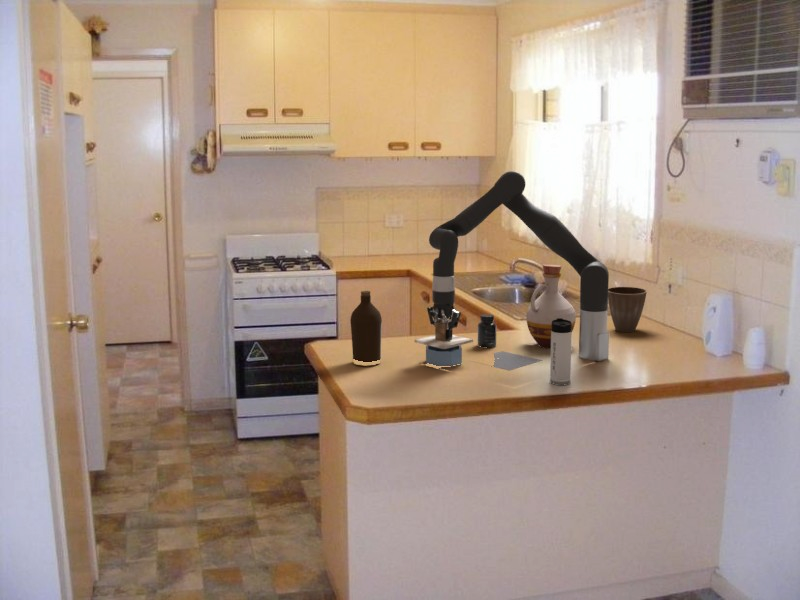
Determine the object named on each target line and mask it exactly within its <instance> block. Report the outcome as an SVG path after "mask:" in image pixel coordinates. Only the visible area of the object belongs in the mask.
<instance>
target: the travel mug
mask: <svg viewBox="0 0 800 600" xmlns="http://www.w3.org/2000/svg"><path fill="white" fill-rule="evenodd" d="M551 327H552V329H551V332H552V333H551V348H550V362H549V363H550V365H549V366H550V370H549V371H550V374H549V383H551V384H552V383H554V384H553V385H555V384H560V385H559V386H565V385H564V384H567V385H569V384H571V370H572V368H571V365H572V335H573V334H572V333H573V331H571V330H572V329H571V328H572V323H571V321H569V320H564V319H562V318H557V319H556V320H553V321H552V326H551Z"/></svg>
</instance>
